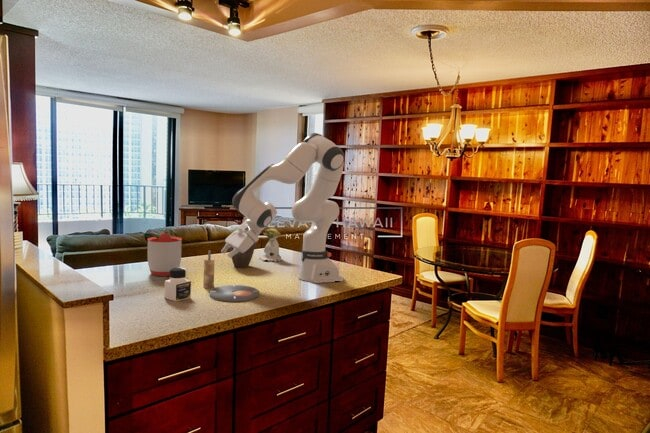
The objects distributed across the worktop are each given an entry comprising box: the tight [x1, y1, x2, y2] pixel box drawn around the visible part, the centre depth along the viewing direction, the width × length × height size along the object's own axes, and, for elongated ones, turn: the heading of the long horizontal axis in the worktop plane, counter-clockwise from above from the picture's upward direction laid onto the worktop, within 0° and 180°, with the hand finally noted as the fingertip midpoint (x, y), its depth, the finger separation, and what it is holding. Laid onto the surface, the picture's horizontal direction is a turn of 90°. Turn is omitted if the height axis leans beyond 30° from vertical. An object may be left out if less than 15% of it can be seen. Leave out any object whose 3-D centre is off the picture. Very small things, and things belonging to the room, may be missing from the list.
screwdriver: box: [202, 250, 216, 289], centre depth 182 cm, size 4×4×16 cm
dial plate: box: [209, 284, 260, 303], centre depth 174 cm, size 20×20×1 cm
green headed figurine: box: [259, 227, 282, 263], centre depth 245 cm, size 12×13×18 cm
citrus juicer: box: [146, 232, 183, 277], centre depth 201 cm, size 16×17×20 cm
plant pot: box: [229, 242, 257, 269], centre depth 224 cm, size 15×15×16 cm
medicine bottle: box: [163, 266, 192, 303], centre depth 165 cm, size 7×7×12 cm
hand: (225, 254), depth 184 cm, fingers open, 8 cm apart
